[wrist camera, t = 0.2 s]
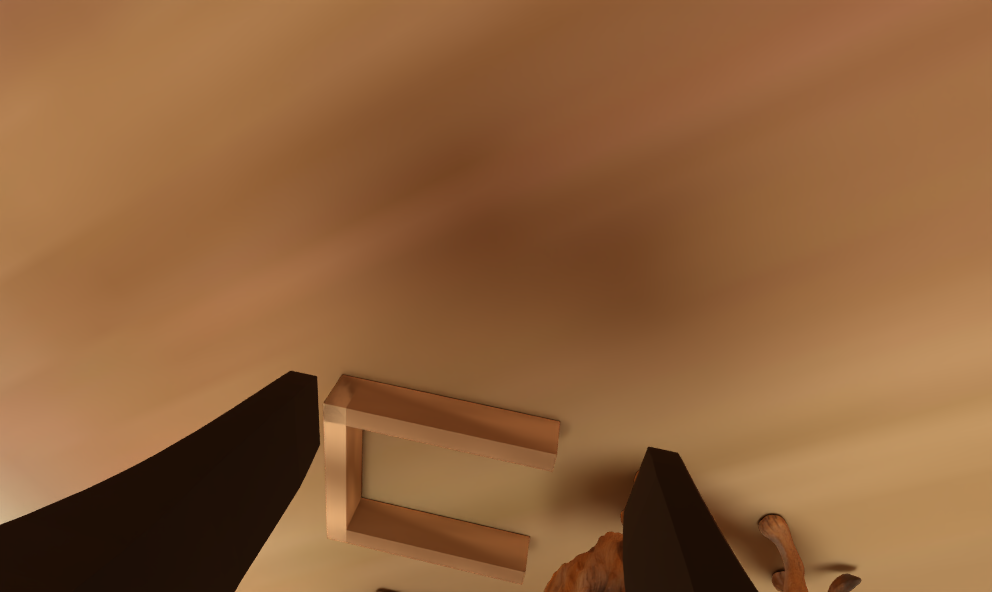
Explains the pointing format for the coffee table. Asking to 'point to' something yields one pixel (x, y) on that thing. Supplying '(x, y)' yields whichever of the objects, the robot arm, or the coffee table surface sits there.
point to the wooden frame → (439, 426)
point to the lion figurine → (600, 579)
